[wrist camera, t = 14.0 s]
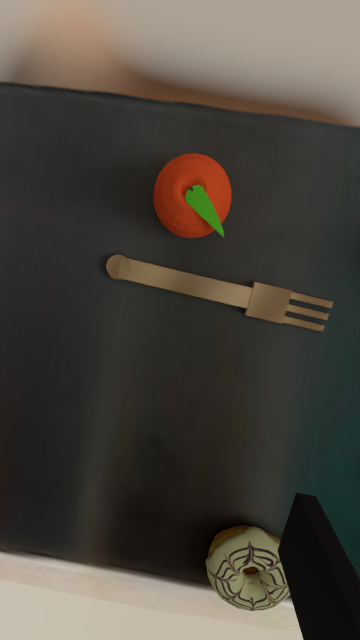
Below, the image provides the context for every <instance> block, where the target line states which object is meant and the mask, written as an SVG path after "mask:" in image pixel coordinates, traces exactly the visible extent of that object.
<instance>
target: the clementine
mask: <svg viewBox="0 0 360 640" xmlns="http://www.w3.org/2000/svg"><path fill="white" fill-rule="evenodd" d="M153 195H154V206H155V210H156V213H157V216H158V217H159V219H160V221H161V222H162V224H163V225H164V226H165V227H166V228H167V229H168V230H169V231H171V232H173V233H174V234H176V235H178V236H182V237H186V238H199V237H202V236H205V235H208V234H209V233H211V232H213V231H214V230H216V231H217V232H219V233H220V234H221V235H222V236H223V237H224V232H223V228H222V225H221V223H222V222H223V221H224V219H225V218H226V216H227V214H228V212H229V208H230V204H231V187H230V183H229V179H228V177H227V175H226V173H225V171H224V169H223V168H222V167H221V166H220V165H219V164H218V163H217V162H216V161H215V160H213V159H211V158H209V157H208V156H205V155H201V154H197V153H194V154H184V155H181V156H179V157H176V158H174V159H173V160H171V161H170V162H169V163H167V164H166V165H165V167H164V168H163V169H162V170H161V172H160V173H159V175H158V178H157V180H156V182H155V187H154V192H153Z"/></svg>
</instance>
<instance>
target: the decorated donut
mask: <svg viewBox="0 0 360 640" xmlns="http://www.w3.org/2000/svg"><path fill="white" fill-rule="evenodd" d="M280 541H281V540H280V539H279V538H277V537H276V536H275V535H273V534H271V533H269V532H267V531H265V530H262V529H260V528H257V527H254V526H253V527H250V526H246V525H241V526H233V527H231V528H229V529H226V530H222V531H221V532H220V533H218V534H216V536H215V538H214V541H213V542H212V544H211V546H210V548H209V553H208V558H207V559H206V567H207V574H208V577H209V580H210V582H211V584H212V586H213V588H214V590H215V591H216V592H217V594H218V595H219V596H220V597H221V598H222V599H223V600H225V601H226V602H228V603H230V604H231V605H233V606H235V607H236V608H239V609H244V610H250V611H256V610H265V609H269V608H272V607H275V606H276V605H278V604H279V603H281V602H282V601H283V600H285V599H286V598H287V597H288V596H289V595H290V592H289V588H288V585H287V582H286V578H285V575H284V572H283V568H282V565H281V561H280V558H279V555H278V551H277V550H278V547H279V544H280Z"/></svg>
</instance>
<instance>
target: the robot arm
mask: <svg viewBox="0 0 360 640" xmlns="http://www.w3.org/2000/svg"><path fill="white" fill-rule="evenodd" d="M277 551H278V555H279V558H280V561H281V565H282V568H283V572H284V575H285V578H286V582H287V585H288V588H289V592H290V595H291V599H292V602H293V605H294V609H295V612H296V615H297V619H298V622H299V626H300V629H301V632H302V635H303V639H304V640H360V579H359V578H358V576H357V574H356V572H355V570H354V568H353V566H352V564H351V562H350V560H349V558H348V557H347V555H346V553H345V551H344V549H343V547H342V545H341V543H340V541H339V539H338V537H337V535H336V534H335V532H334V530H333V528H332V526H331V524H330V522H329V520H328V518H327V516H326V514H325V512H324V511H323V509H322V507H321V505H320V503H319V501H318V499H317V497H316V496H311V495H306V494H300V493H296V495H295V498H294V501H293V504H292V507H291V510H290V513H289V516H288V520H287V523H286V526H285V529H284V532H283V535H282V538H281V541H280V544H279V547H278V550H277Z"/></svg>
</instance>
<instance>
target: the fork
mask: <svg viewBox="0 0 360 640" xmlns="http://www.w3.org/2000/svg"><path fill="white" fill-rule="evenodd" d="M106 269H107V272H108V274H109V275H110V276H111V277H112V278H114V279H116V280H122V279H124V280H129V281H133V282H137V283H141V284H145V285H150V286H154V287H158V288H162V289H166V290H171V291H175V292H179V293H183V294H187V295H192V296H196V297H200V298H204V299H208V300H213V301H217V302H221V303H225V304H229V305H234V306H238V307H242V308H246V309H245V313H244V314H245V315H247V316H251V317H255V318H260V319H264V320H268V321H272V322H276V323H281V324H282V322H283V323H287V324H292V325H296V326H300V327H304V328H308V329H313V330H317V331H321V332H323V330H324V327H325V326H324V325H322V324H318V323H314V322H310V321H306V320H301V319H297V318H293V317H289V316H285V313H286V311H290V312H294V313H298V314H303V315H307V316H311V317H315V318H319V319H324V320H327V318H328V316H329V314H328V313H325V312H321V311H317V310H313V309H308V308H304V307H300V306H296V305H292V304H288V303H289V300H290V299H294V300H298V301H302V302H306V303H311V304H315V305H319V306H323V307H327V308H331V307H332V304H333V302H332V301H329V300H324V299H320V298H316V297H312V296H308V295H303V294H299V293H295V292H292V290H289V289H284V288H280V287H276V286H272V285H268V284H263V283H259V282H255V281H254V282H253V285H252V288H251V287H247V286H243V285H238V284H234V283H230V282H226V281H222V280H217V279H213V278H209V277H205V276H201V275H196V274H192V273H188V272H184V271H180V270H175V269H171V268H167V267H163V266H159V265H154V264H150V263H146V262H142V261H138V260H133V259H129V258H127V257H126V256H124V255H113V256H112V257H110V258H109V260H108V261H107V264H106Z"/></svg>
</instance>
